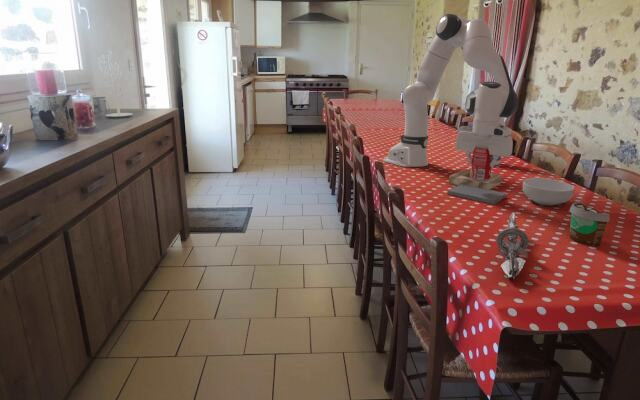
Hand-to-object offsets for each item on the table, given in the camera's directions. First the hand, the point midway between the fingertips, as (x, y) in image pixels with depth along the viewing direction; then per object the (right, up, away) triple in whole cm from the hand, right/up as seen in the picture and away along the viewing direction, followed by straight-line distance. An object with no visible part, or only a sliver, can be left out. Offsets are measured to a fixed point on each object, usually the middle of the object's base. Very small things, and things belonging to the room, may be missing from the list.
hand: (480, 165), depth 161 cm
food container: (+15, -25, -35) cm, 46 cm away
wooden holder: (+5, -6, +20) cm, 21 cm away
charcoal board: (0, -11, +4) cm, 12 cm away
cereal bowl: (+23, -14, -3) cm, 27 cm away
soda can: (0, -6, +2) cm, 6 cm away
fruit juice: (+25, +5, +55) cm, 60 cm away
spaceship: (-9, -28, -45) cm, 54 cm away
